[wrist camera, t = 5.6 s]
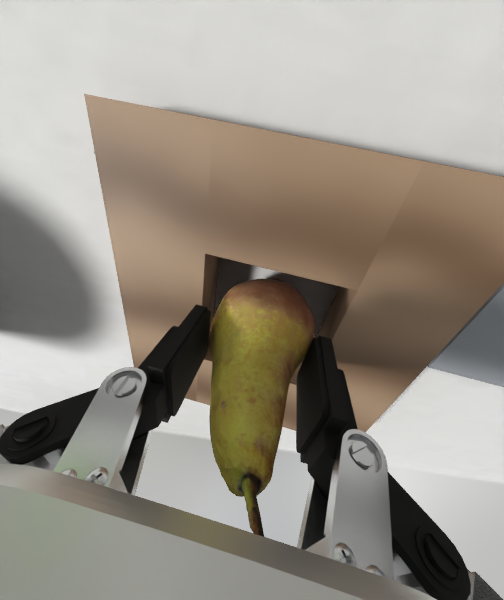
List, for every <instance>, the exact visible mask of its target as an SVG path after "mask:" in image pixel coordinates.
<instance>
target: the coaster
mask: <svg viewBox="0 0 504 600" xmlns="http://www.w3.org/2000/svg"><path fill="white" fill-rule="evenodd" d="M427 366H428V367H429V368H433V369H437V370H440V371H444V372H448V373H452V374H456V375H459V376H463V377H467V378H471V379H475V380H479V381H482V382H486V383H490V384H494V385H498V386H501V387H504V283H503V284H502V285H501V287H500V288H499V289H498V290H497V291H496V292H495V293H494V294H493V295H492V296H491V297H490V298H489V299H488V301H487V302H486V303H485V304H484V305H483V306H482V307H481V308H480V309H479V310H478V311H477V312H476V313H475V315H474V316H473V317H472V318H471V319H470V320H469V321H468V322H467V323H466V324H465V325H464V326H463V327H462V329H461V330H460V331H459V332H458V333H457V334H456V335H455V336H454V337H453V338H452V339H451V340H450V342H449V343H448V344H447V345H446V346H445V347H444V348H443V349H442V350H441V351H440V352H439V353H438V354H437V356H436V357H435V358H434V359H433V360H432V361H431V362H430V363H429V364H428V365H427Z"/></svg>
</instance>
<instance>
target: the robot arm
mask: <svg viewBox="0 0 504 600" xmlns="http://www.w3.org/2000/svg"><path fill="white" fill-rule="evenodd" d="M210 318H211V311H209V310H208V307H205V306H201V305H195V306H194V308H193V309H192V310H191V311H190V313H189V314H188V315H187V317H186V318H185V319H184V320H183V322H182V323H181V324H180V326H179V327H177V326H172V327H171V328H170V329H169V331H168V332H167V333H166V334H165V335H164V337H163V338H162V339H161V340H160V341H159V343H158V344H157V345H156V346H155V348H154V349H153V350H152V351H151V352H150V354H149V355H148V356H147V357H146V358H145V360H144V361H143V362H142V363H141V364H140V366H139V367H138V368H135V367H127V368H122V369H119V370H117V371H115V372H113V373H111V374H110V375H109V376H108V377H106V379H105V380H104V381H103V382H102V384H101V386H100V388H98V389H95V390H92V391H89V392H86V393H83V394H80V395H77V396H75V397H72V398H69V399H66V400H63V401H60V402H57V403H54V404H51V405H48V406H46V407H43V408H40V409H37V410H34V411H32V412H30V413H27V414H25V415H24V416H22V417H20V418H19V419H17V420H16V421H15V422H14V423H12V424H11V425H10V426H7V427H4V426H3V425H0V600H503V599H502V598H501V597H500V596H499V595H498V594H497V593H496V592H495V591H494V590H493V589H492V588H491V587H490V586H489V585H488V584H487V583H486V582H485V581H484V580H483V579H482V578H481V577H480V576H479V575H478V574H477V573H476V572H470V571H469V570H468V569H467V568H466V566H465V564H464V561H463V559H462V557H461V555H460V554H459V552H458V551H457V549H456V547H455V545H454V544H453V543H452V542H451V541H450V539H449V538H448V537H447V536H446V534H445V533H444V532H443V531H442V530H441V529H440V528H439V527H438V526H437V525H436V523H435V522H434V521H433V520H432V519H431V518H430V517H429V516H428V515H427V514H426V513H425V512H424V511H423V510H422V508H421V507H420V506H419V505H418V504H417V503H416V502H415V501H414V500H413V499H412V498H411V496H410V495H409V494H408V493H407V492H406V491H405V490H404V489H403V488H402V487H401V486H400V485H399V483H398V482H397V481H396V480H395V479H394V478H393V477H392V476H391V475H390V474H389V473H388V469H387V461H386V457H385V455H384V453H383V451H382V449H381V447H380V446H379V445H378V443H377V442H376V441H375V440H374V439H373V438H372V437H371V436H369V435H368V434H367V433H365V432H363V431H361V430H358V428H357V424H356V420H355V416H354V411H353V407H352V403H351V399H350V395H349V391H348V386H347V382H346V378H345V374H344V371H343V370H341V369H338V367H337V363H336V358H335V353H334V348H333V344H332V340H331V338H327V337H323V336H318V337H317V338H315V337H314V338H313V340H312V342H311V345H310V348H309V350H308V352H307V354H306V356H305V358H304V360H303V362H302V365H301V367H300V369H299V371H298V374H297V386H296V449H297V452H298V453H301V462H303V463H307V464H308V472H309V473H310V475H311V476H312V477H311V482H310V487H309V492H308V496H307V501H306V506H305V511H304V515H303V521H302V525H301V530H300V535H299V540H298V544H297V548H296V547H293V546H290V545H287V544H284V543H281V542H278V541H275V540H272V539H269V538H266V537H263V536H260V535H256V534H253V533H250V532H247V531H244V530H241V529H238V528H234V527H232V526H228V525H225V524H222V523H219V522H216V521H213V520H209V519H207V518H203V517H200V516H197V515H194V514H191V513H188V512H184V511H182V510H178V509H175V508H172V507H169V506H166V505H163V504H159V503H156V502H153V501H150V500H147V499H144V498H141V497H137V496H135V492H136V489H137V485H138V481H139V478H140V474H141V470H142V467H143V463H144V459H145V456H146V452H147V448H148V445H149V441H150V437H151V434H152V430H153V429H154V428H156V427H158V426H159V424H160V423H161V421H163V422H167V423H168V421H169V419H170V417H171V416H175V415H176V414H177V412H178V410H179V408H180V406H181V404H182V402H183V400H184V398H185V396H186V394H187V392H188V390H189V388H190V386H191V384H192V382H193V380H194V378H195V376H196V374H197V372H198V370H199V368H200V366H201V364H202V362H203V360H204V358H205V356H206V354H207V351H208V342H209V330H210Z"/></svg>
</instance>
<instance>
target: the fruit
mask: <svg viewBox="0 0 504 600" xmlns="http://www.w3.org/2000/svg"><path fill="white" fill-rule="evenodd" d="M314 333H315V321H314V317H313V314H312V311H311V309H310V307H309V306H308V303H307V302H306V300H305V299H304V297H303V296H302V295H301V293H300V292H299V291H298V290H297V289H296V288H294V287H293V286H292V285H290V284H288V283H286V282H282V281H279V280H271V279H256V280H249V281H245V282H242V283H239V284H237V285H235V286H234V287H232V288H231V289H230V290H229V291H228V292H227V293H226V295H225V296H224V297H223V299H222V301H221V303H220V305H219V307H218V309H217V311H216V314H215V316H214V318H213V321H212V324H211V330H210V345H211V351H212V376H211V399H210V435H211V442H212V448H213V453H214V457H215V460H216V463H217V465H218V467H219V469H220V472H221V475H222V477H223V478H224V480H225V482H226V484H227V486H228V488H229V490H230V491H231V492H232V493H233V494H235V495H236V496H245V500H246V505H247V506H246V507H247V511H248V517H249V523H250V528H251V529H252V531H253V532H254V534H256V535H260V536H263V537H264V534H263V528H262V523H261V517H260V512H259V507H258V503H257V498H256V496H257V495H258V494H259V493H261V492H262V491H263V490H264V489H265V488H266V486H267V484H268V483H269V482H270V480H271V477H272V472H273V465H274V460H275V456H276V452H277V448H278V444H279V439H280V435H281V430H282V425H283V419H284V413H285V407H286V400H287V394H288V389H289V385H290V381H291V378H292V376H293V374H294V372H295V370H296V369H297V367H298V366H299V364H300V363H301V362H302V360H303V359H304V357H305V356H306V354H307V352H308V350H309V348H310V345H311V342H312V340H313V338H314Z"/></svg>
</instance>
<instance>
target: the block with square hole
mask: <svg viewBox="0 0 504 600" xmlns="http://www.w3.org/2000/svg"><path fill="white" fill-rule="evenodd" d="M84 95H85V101H86V106H87V112H88V117H89V123H90V128H91V133H92V139H93V144H94V150H95V155H96V161H97V166H98V172H99V177H100V183H101V188H102V194H103V199H104V205H105V210H106V215H107V221H108V226H109V232H110V237H111V243H112V248H113V254H114V259H115V265H116V270H117V276H118V281H119V287H120V292H121V297H122V303H123V308H124V314H125V319H126V325H127V330H128V336H129V341H130V347H131V352H132V358H133V363H134V367H135V368H138V367H139V366H140V364H141V363H142V362H143V361H144V360H145V358H146V357H147V356H148V355H149V354H150V352H151V351H152V350H153V349H154V348H155V346H156V345H157V344H158V343H159V341H160V340H161V339H162V338H163V337H164V335H165V334H166V333H167V332H168V331H169V329H170V328H171V327H172V326H177V327H179V326H180V324H181V323H182V322H183V320H184V319H185V318H186V317H187V315H188V314H189V313H190V311H191V310H192V309H193V308H194V306H195V305H201V306H205V307H208V310H209V311H211V318H210V330H211V324H212V321H213V314H214V304H215V294H216V284H217V274H218V264H219V257H221V258H225V259H230V260H234V261H238V262H242V263H246V264H250V265H254V266H258V267H262V268H266V269H271V270H275V271H279V272H283V273H287V274H291V275H295V276H299V277H303V278H308V279H312V280H316V281H320V282H324V283H328V284H332V285H336V286H340V287H339V289H338V291H337V294H336V296H335V298H334V300H333V302H332V304H331V307H330V309H329V311H328V313H327V315H326V317H325V320H324V322H323V324H322V326H321V328H320V331H319V333H318V335H317V337H318V336H323V337H327V338H331V340H332V344H333V348H334V353H335V358H336V363H337V367H338V369H341V370H343V371H344V374H345V378H346V382H347V386H348V391H349V395H350V399H351V403H352V407H353V411H354V416H355V420H356V424H357V428H358V430H361V431H363V432H366V431H367V430H368V429H369V428H370V427H371V426H372V425H373V423H374V422H375V421H376V420H377V419H378V418H379V417H380V416H381V415H382V414H383V413H384V412H385V411H386V409H387V408H388V407H389V406H390V405H391V404H392V403H393V402H394V401H395V400H396V399H397V398H398V397H399V395H400V394H401V393H402V392H403V391H404V390H405V389H406V388H407V387H408V386H409V385H410V384H411V382H412V381H413V380H414V379H415V378H416V377H417V376H418V375H419V374H420V373H421V372H422V371H423V370H424V368H425V367H426V366H427V365H428V364H429V363H430V362H431V361H432V360H433V359H434V358H435V357H436V356H437V354H438V353H439V352H440V351H441V350H442V349H443V348H444V347H445V346H446V345H447V344H448V343H449V342H450V340H451V339H452V338H453V337H454V336H455V335H456V334H457V333H458V332H459V331H460V330H461V329H462V327H463V326H464V325H465V324H466V323H467V322H468V321H469V320H470V319H471V318H472V317H473V316H474V315H475V313H476V312H477V311H478V310H479V309H480V308H481V307H482V306H483V305H484V304H485V303H486V302H487V301H488V299H489V298H490V297H491V296H492V295H493V294H494V293H495V292H496V291H497V290H498V289H499V288H500V287H501V285H502V284H503V283H504V177H501V176H496V175H491V174H486V173H481V172H476V171H471V170H466V169H461V168H456V167H451V166H446V165H440V164H435V163H430V162H425V161H420V160H415V159H410V158H405V157H400V156H395V155H390V154H385V153H380V152H375V151H370V150H365V149H360V148H355V147H350V146H345V145H340V144H334V143H329V142H324V141H319V140H314V139H309V138H304V137H299V136H294V135H289V134H284V133H279V132H274V131H269V130H264V129H259V128H254V127H249V126H244V125H239V124H234V123H228V122H223V121H218V120H213V119H208V118H203V117H198V116H193V115H188V114H183V113H178V112H173V111H168V110H163V109H158V108H153V107H148V106H143V105H138V104H133V103H128V102H122V101H117V100H112V99H107V98H102V97H97V96H92V95H87V94H84ZM210 330H209V342H208V351H207V354H206V356H205V358H204V360H203V362H202V364H201V366H200V368H199V370H198V372H197V374H196V376H195V378H194V380H193V382H192V384H191V386H190V388H189V390H188V392H187V394H186V396H185V398H187V399H190V400H193V401H197V402H200V403H204V404H207V405H210V399H211V376H212V351H211V345H210ZM317 337H316V338H317ZM302 362H303V360H302ZM302 362H301V363H300V364H299V366H298V367H297V369H296V370H295V372H294V374H293V376H292V378H291V381H290V385H289V389H288V394H287V400H286V407H285V413H284V419H283V425H282V427H285V428H289V429H292V430H295V431H296V386H297V374H298V371H299V369H300V367H301V365H302Z"/></svg>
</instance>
